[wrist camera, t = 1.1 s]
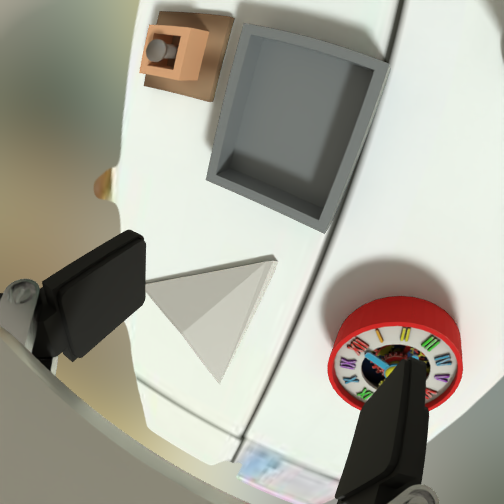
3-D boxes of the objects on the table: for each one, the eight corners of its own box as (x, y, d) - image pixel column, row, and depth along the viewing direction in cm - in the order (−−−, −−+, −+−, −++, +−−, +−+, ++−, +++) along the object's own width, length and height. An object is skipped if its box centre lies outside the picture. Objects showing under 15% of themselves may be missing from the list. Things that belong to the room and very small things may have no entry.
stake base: (164, 12, 35) (132, 6, 29) (234, 18, 32) (205, 8, 27) (148, 85, 41) (116, 88, 36) (213, 101, 39) (182, 104, 33)
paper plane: (332, 321, 46) (325, 339, 43) (228, 373, 63) (218, 386, 60) (216, 191, 45) (200, 200, 42) (143, 282, 63) (130, 292, 59)
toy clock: (395, 431, 43) (302, 375, 46) (400, 405, 48) (313, 350, 50) (489, 370, 31) (387, 293, 34) (485, 342, 36) (390, 268, 39)
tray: (260, 29, 31) (243, 23, 28) (390, 68, 28) (389, 63, 24) (223, 171, 43) (205, 180, 39) (333, 219, 39) (324, 233, 35)
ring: (168, 27, 35) (149, 24, 32) (209, 31, 33) (191, 27, 30) (158, 72, 39) (139, 72, 35) (197, 80, 37) (178, 80, 34)
